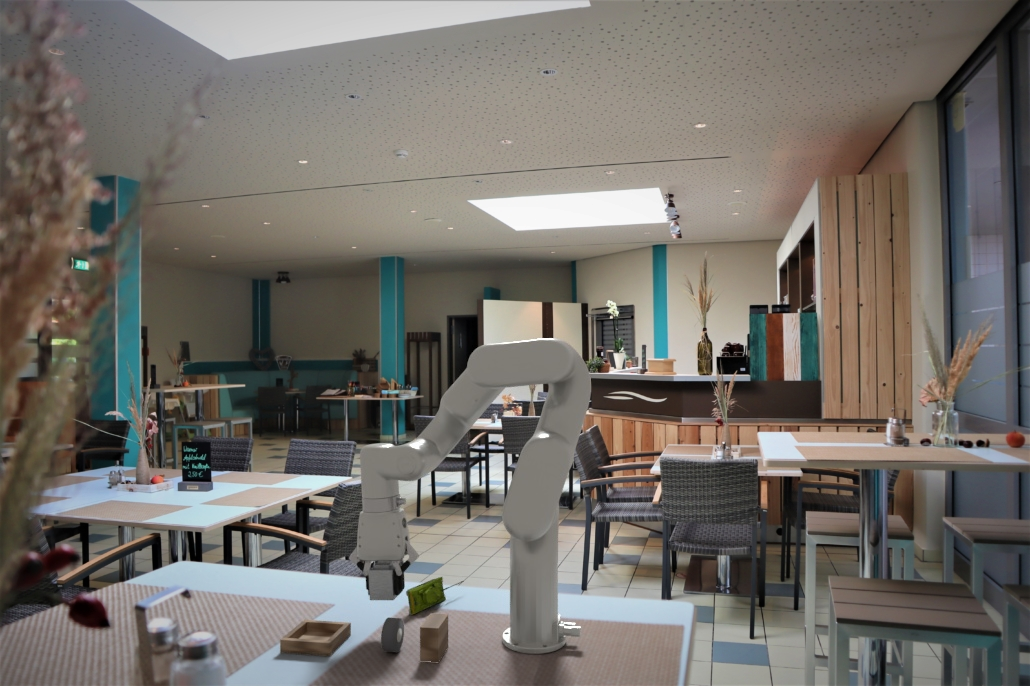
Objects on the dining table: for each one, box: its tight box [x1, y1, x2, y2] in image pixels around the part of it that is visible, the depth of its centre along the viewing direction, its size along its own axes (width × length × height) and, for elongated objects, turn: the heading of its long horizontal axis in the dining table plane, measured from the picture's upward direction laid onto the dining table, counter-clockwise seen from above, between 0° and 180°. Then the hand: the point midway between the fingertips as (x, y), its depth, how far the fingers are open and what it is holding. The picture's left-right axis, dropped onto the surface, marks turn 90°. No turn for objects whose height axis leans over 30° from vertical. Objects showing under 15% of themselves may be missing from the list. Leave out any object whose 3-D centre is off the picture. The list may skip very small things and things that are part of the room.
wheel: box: [380, 617, 405, 653], centre depth 133 cm, size 3×6×6 cm, turn 171°
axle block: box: [419, 612, 449, 663], centre depth 132 cm, size 4×7×6 cm, turn 171°
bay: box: [279, 619, 352, 657], centre depth 137 cm, size 10×10×2 cm
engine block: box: [368, 561, 399, 601], centre depth 143 cm, size 5×5×7 cm
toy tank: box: [405, 576, 465, 616], centre depth 158 cm, size 7×19×10 cm
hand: (385, 592), depth 143 cm, fingers closed on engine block, 5 cm apart
